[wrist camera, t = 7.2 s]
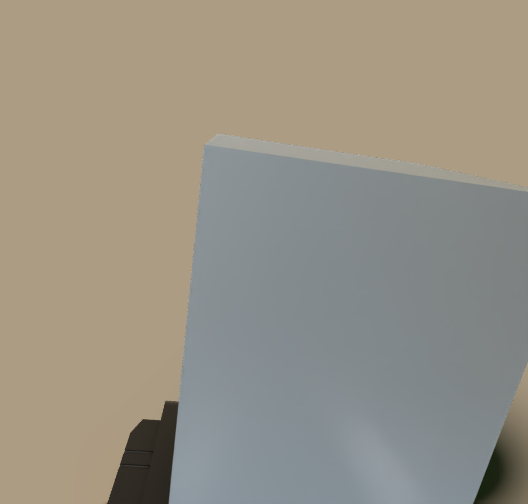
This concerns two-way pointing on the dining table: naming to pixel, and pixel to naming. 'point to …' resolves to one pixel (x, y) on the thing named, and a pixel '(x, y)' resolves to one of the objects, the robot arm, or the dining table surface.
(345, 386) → the pale blue tall pillar
